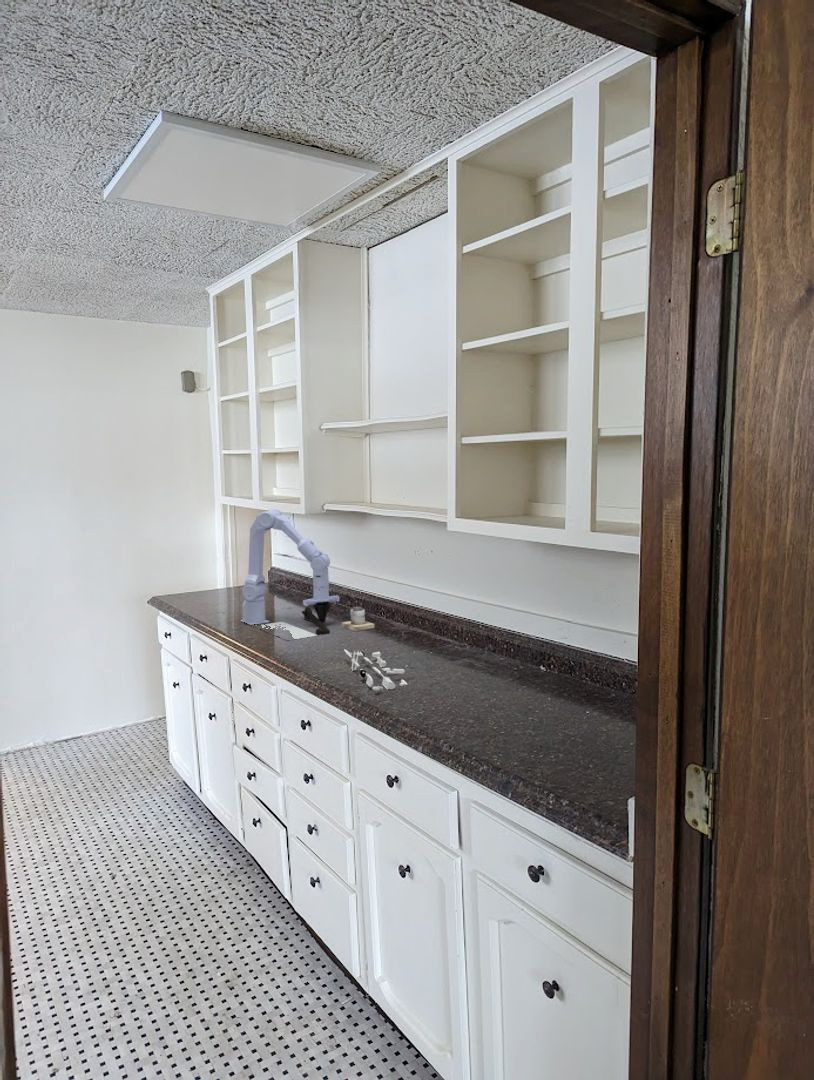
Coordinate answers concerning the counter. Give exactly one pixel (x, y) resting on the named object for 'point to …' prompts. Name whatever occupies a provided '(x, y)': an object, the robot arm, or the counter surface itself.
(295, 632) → the tool mat
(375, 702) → the counter surface
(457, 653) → the counter surface
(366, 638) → the counter surface
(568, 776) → the counter surface
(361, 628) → the cup on beige base
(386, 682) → the miniature set
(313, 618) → the dark brown hooked rod
